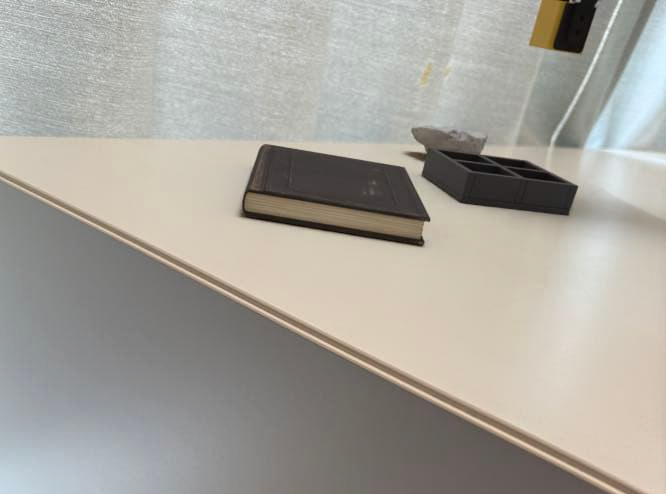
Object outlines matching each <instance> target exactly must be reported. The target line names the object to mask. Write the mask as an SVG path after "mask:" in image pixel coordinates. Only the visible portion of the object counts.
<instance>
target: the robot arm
mask: <svg viewBox="0 0 666 494" xmlns="http://www.w3.org/2000/svg"><path fill="white" fill-rule="evenodd" d="M559 1H565V2H570V3H566V5H565V8H564V12H563V15H562V18H561V21H560V25H559V28H558V31H557V35H556V38H555V41H554V44H553V48H554V49H555V50H561V51H567V52H573V53H581V52H582V51H583V52H584V50H583V48H584V49H585V46H586V43H587V40H588V37H589V34H590V31H591V28H590V27H592V25H593V22H594V19H593V18H595V16H594V15H596V13H597V10H596V8H597V9H598V8H599V7H600V6H601V4H602V2H603V0H559ZM571 3H572V4H571ZM593 7H594V8H593ZM595 12H596V13H595ZM592 21H593V22H592ZM591 24H592V25H591ZM589 30H590V31H589ZM588 33H589V34H588ZM587 36H588V37H587ZM586 39H587V40H586ZM585 42H586V43H585ZM584 45H585V46H584Z"/></svg>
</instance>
